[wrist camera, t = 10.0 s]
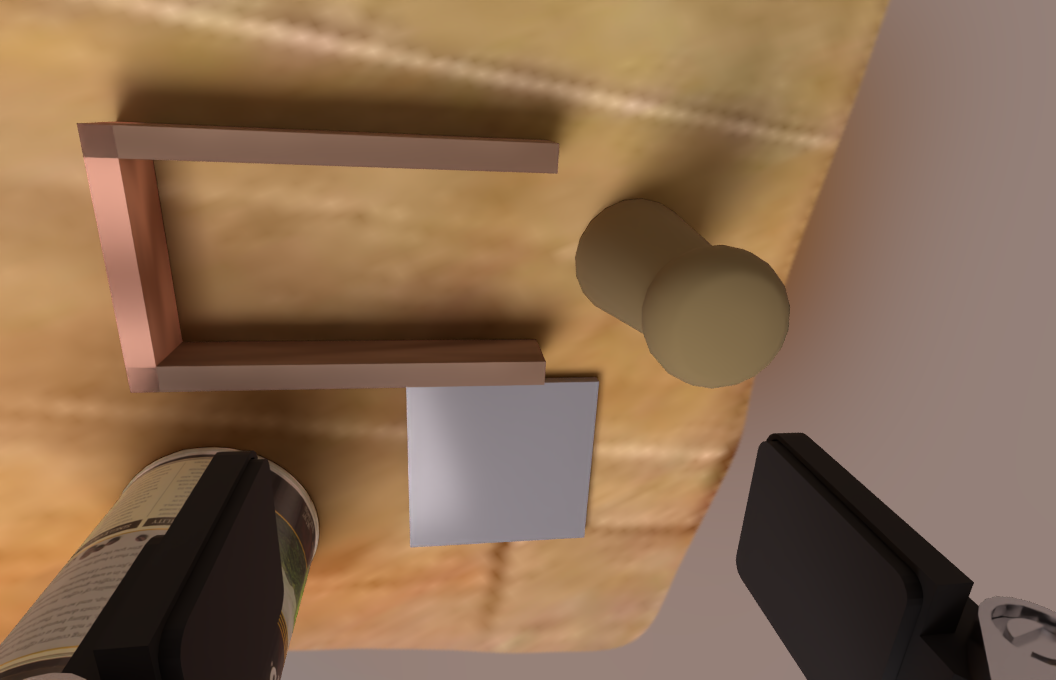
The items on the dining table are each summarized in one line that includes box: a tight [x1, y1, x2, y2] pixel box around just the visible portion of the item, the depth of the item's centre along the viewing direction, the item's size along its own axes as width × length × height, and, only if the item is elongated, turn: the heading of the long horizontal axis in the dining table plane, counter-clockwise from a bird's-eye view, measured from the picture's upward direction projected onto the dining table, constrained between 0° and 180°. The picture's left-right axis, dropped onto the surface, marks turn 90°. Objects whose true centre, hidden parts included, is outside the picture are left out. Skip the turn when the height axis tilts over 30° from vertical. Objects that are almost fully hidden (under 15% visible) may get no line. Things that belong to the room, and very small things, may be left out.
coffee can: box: [0, 447, 319, 680], centre depth 26 cm, size 10×10×14 cm
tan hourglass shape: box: [575, 199, 790, 388], centre depth 26 cm, size 6×6×11 cm
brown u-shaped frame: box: [77, 122, 559, 393], centre depth 27 cm, size 11×18×3 cm, turn 87°
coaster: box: [406, 377, 599, 547], centre depth 34 cm, size 10×10×1 cm
